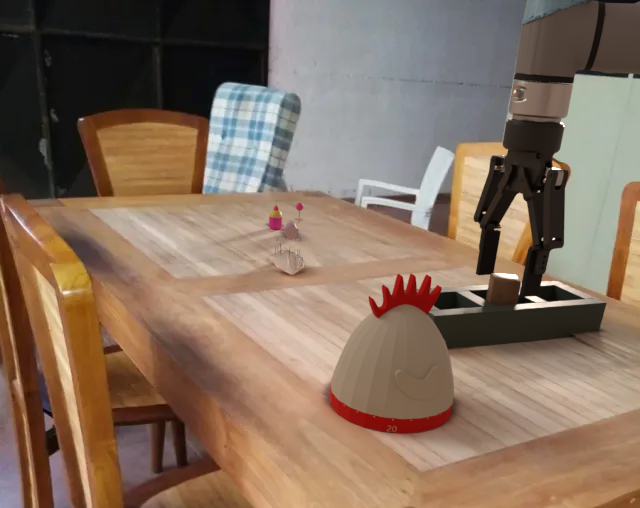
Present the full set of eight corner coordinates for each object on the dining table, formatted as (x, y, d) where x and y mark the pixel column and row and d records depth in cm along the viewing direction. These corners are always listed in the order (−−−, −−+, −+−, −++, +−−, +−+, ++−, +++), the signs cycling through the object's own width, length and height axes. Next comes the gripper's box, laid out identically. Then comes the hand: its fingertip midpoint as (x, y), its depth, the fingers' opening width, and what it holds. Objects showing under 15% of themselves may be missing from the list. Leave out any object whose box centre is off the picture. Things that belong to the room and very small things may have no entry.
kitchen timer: (474, 425, 77) (500, 292, 70) (359, 439, 73) (374, 298, 66) (415, 374, 89) (432, 255, 82) (312, 384, 84) (321, 258, 77)
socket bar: (598, 334, 107) (607, 302, 105) (429, 351, 96) (434, 316, 94) (549, 310, 116) (556, 280, 114) (390, 322, 105) (394, 290, 103)
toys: (308, 240, 148) (310, 210, 145) (270, 238, 147) (271, 208, 144) (302, 221, 163) (303, 194, 161) (267, 220, 162) (268, 192, 160)
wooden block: (483, 331, 105) (493, 279, 101) (481, 323, 108) (490, 271, 104) (510, 334, 104) (521, 281, 101) (507, 325, 108) (517, 274, 104)
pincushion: (309, 278, 123) (311, 245, 120) (274, 277, 122) (275, 244, 119) (297, 259, 133) (299, 229, 131) (265, 259, 132) (266, 228, 130)
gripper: (464, 110, 101) (442, 265, 111) (571, 127, 82) (534, 310, 93) (507, 111, 103) (482, 262, 114) (621, 128, 85) (579, 306, 95)
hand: (505, 284), depth 103 cm, fingers open, 10 cm apart
